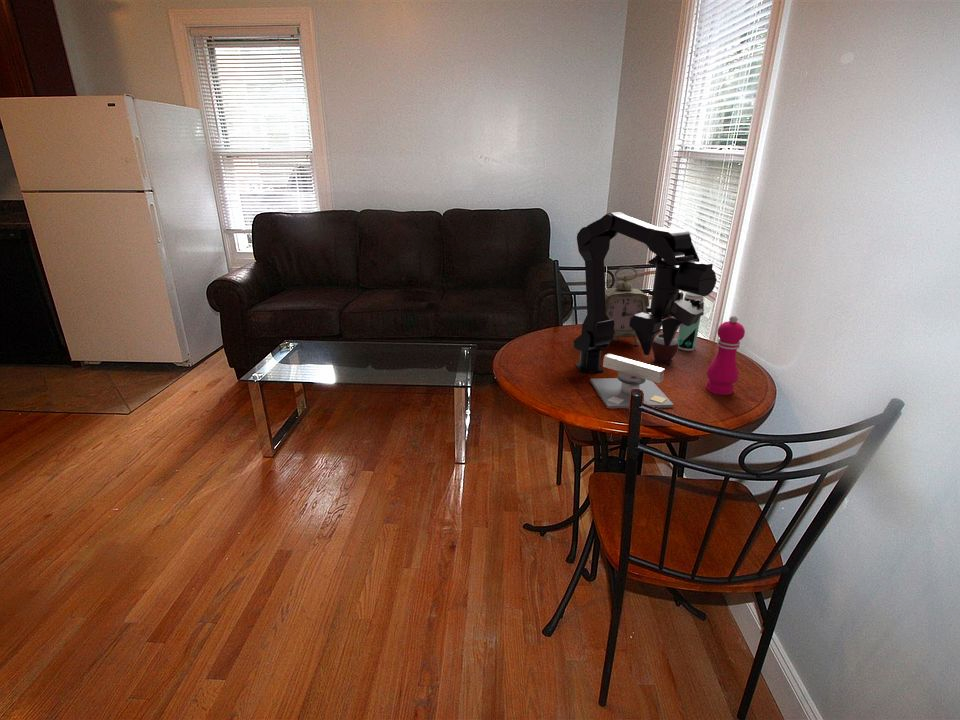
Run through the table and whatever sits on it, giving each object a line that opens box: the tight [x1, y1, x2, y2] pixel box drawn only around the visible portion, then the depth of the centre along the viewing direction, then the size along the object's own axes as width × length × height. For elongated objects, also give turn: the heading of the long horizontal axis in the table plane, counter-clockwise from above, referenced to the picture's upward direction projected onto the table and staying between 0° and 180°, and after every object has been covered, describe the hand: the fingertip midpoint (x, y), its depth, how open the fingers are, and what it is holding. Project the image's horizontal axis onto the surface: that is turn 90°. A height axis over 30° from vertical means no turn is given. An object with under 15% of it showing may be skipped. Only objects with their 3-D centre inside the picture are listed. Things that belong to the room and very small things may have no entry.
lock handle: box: [602, 353, 665, 385], centre depth 122 cm, size 15×8×5 cm, turn 47°
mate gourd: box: [651, 333, 679, 367], centre depth 141 cm, size 8×8×15 cm
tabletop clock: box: [605, 266, 650, 346], centre depth 155 cm, size 14×9×25 cm, turn 91°
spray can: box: [677, 292, 705, 352], centre depth 151 cm, size 6×6×20 cm
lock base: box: [590, 377, 674, 410], centre depth 123 cm, size 16×16×4 cm
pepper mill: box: [706, 315, 746, 396], centre depth 122 cm, size 7×7×20 cm
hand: (657, 350), depth 116 cm, fingers open, 9 cm apart
